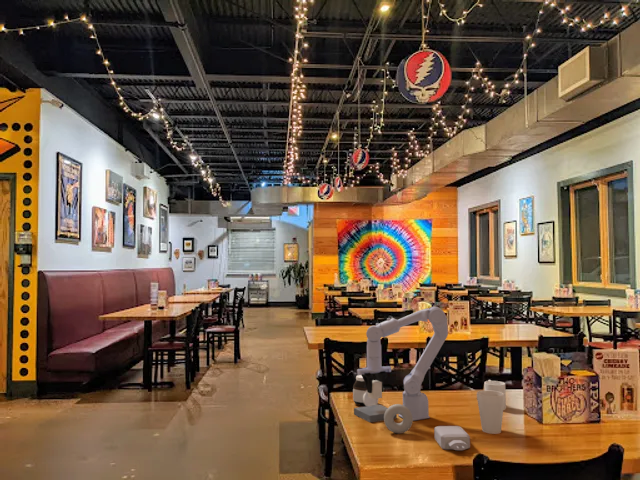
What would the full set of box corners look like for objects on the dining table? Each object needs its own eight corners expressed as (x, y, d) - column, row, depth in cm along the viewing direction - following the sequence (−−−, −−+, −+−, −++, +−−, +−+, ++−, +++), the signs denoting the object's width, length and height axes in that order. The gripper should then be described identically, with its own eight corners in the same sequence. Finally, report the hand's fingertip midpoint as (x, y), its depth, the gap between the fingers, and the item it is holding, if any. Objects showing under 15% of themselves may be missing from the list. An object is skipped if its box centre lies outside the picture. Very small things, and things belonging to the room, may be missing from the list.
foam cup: (485, 425, 183) (484, 389, 184) (510, 430, 176) (509, 393, 177) (472, 431, 176) (471, 393, 177) (497, 437, 169) (496, 398, 170)
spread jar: (362, 400, 220) (362, 373, 221) (385, 404, 213) (385, 376, 214) (348, 406, 210) (347, 378, 211) (371, 410, 204) (371, 381, 205)
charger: (446, 457, 152) (434, 440, 167) (476, 456, 152) (461, 440, 167) (446, 441, 152) (434, 426, 167) (476, 440, 153) (461, 425, 167)
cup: (498, 402, 215) (497, 378, 215) (509, 410, 203) (508, 385, 203) (479, 402, 214) (478, 379, 215) (489, 410, 202) (488, 385, 203)
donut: (412, 432, 175) (412, 403, 176) (413, 435, 172) (412, 405, 172) (384, 431, 177) (383, 402, 177) (384, 434, 173) (383, 405, 174)
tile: (379, 410, 203) (379, 404, 203) (396, 418, 192) (396, 411, 192) (354, 414, 198) (353, 408, 198) (369, 422, 187) (369, 415, 187)
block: (376, 395, 198) (376, 380, 198) (381, 397, 194) (381, 382, 195) (367, 396, 196) (367, 381, 197) (373, 398, 193) (372, 383, 193)
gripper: (384, 353, 203) (384, 387, 202) (353, 356, 197) (353, 391, 196) (393, 356, 197) (394, 391, 196) (362, 359, 191) (362, 395, 190)
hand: (374, 391), depth 196 cm, fingers closed on block, 4 cm apart
